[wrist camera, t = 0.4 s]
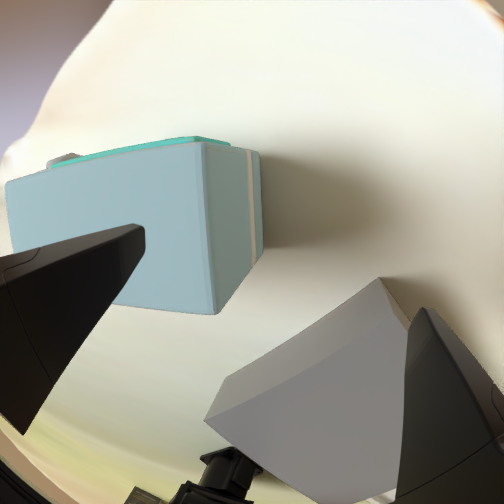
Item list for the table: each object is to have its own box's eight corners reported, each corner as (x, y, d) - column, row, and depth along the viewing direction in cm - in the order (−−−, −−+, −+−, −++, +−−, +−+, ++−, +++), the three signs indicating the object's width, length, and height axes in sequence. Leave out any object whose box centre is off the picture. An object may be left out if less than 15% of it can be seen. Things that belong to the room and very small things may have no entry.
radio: (262, 137, 23) (51, 69, 4) (266, 250, 25) (126, 448, 6) (101, 158, 26) (-92, 185, 8) (110, 247, 29) (-61, 334, 10)
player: (333, 470, 31) (329, 510, 25) (225, 378, 30) (203, 420, 24) (462, 406, 25) (478, 446, 18) (378, 277, 23) (393, 313, 17)
